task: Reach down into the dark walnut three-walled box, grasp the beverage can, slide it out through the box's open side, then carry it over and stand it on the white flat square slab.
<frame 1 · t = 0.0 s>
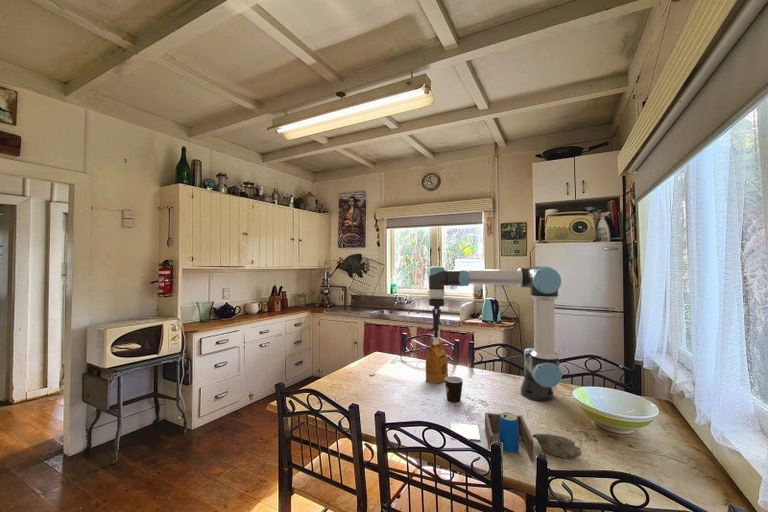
hand: (436, 340, 162), 28 cm above the table, fingers open, 13 cm apart
fossil: (555, 452, 116), on the table
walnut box: (507, 445, 121), on the table
coffee mug: (453, 399, 161), on the table
white flat square slab: (464, 432, 130), on the table
coffee package: (437, 380, 185), on the table
beverage can: (508, 450, 118), on the table
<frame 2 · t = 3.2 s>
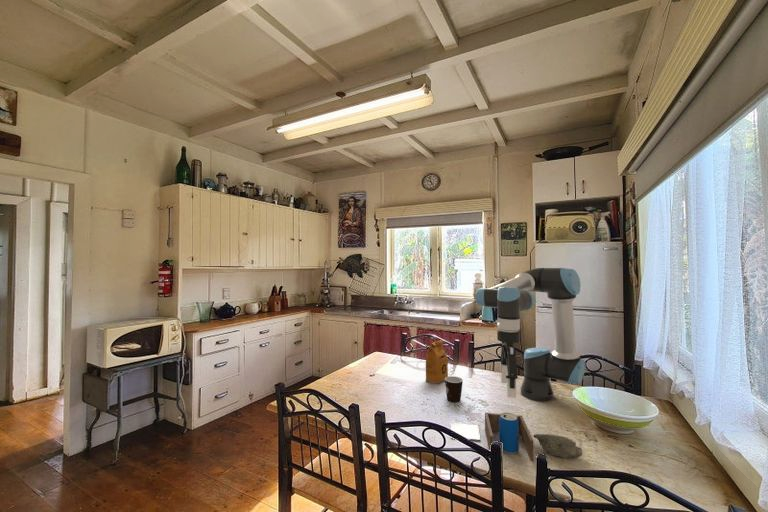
hand: (508, 389, 118), 22 cm above the table, fingers open, 13 cm apart
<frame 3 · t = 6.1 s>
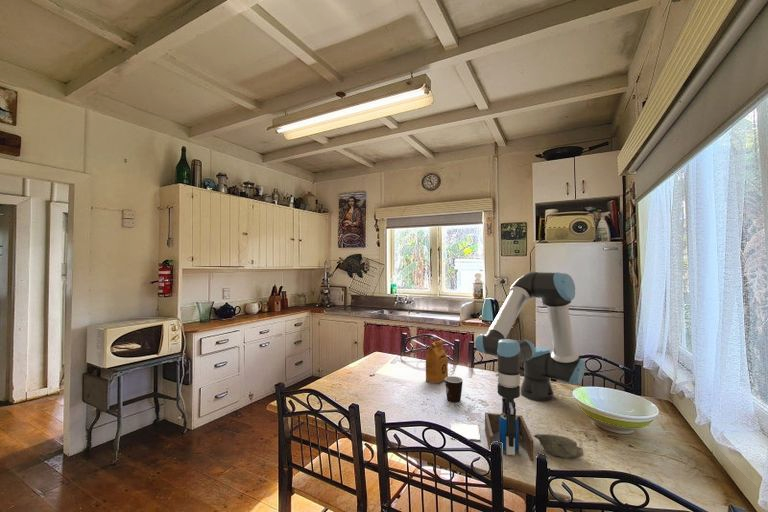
hand: (508, 448, 118), 0 cm above the table, fingers closed on beverage can, 6 cm apart
beverage can: (508, 450, 118), on the table, touching gripper
everything else where it was.
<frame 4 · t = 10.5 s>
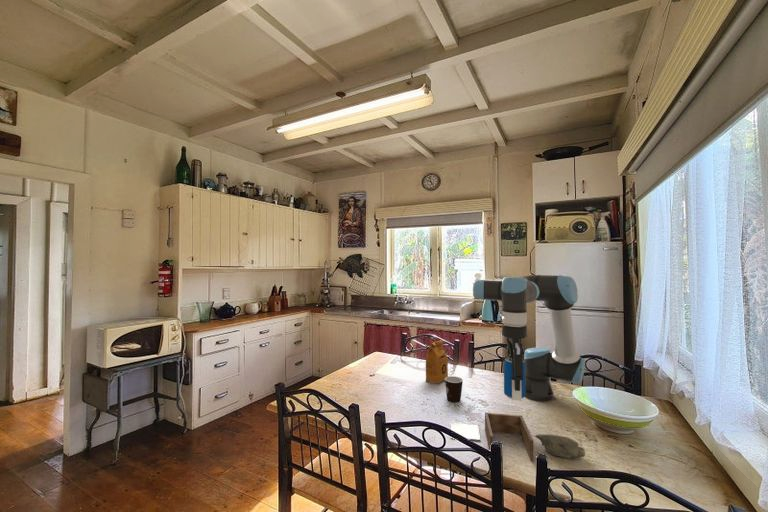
hand: (514, 394, 107), 24 cm above the table, fingers closed on beverage can, 6 cm apart
beverage can: (514, 397, 107), point 23 cm above the table, touching gripper
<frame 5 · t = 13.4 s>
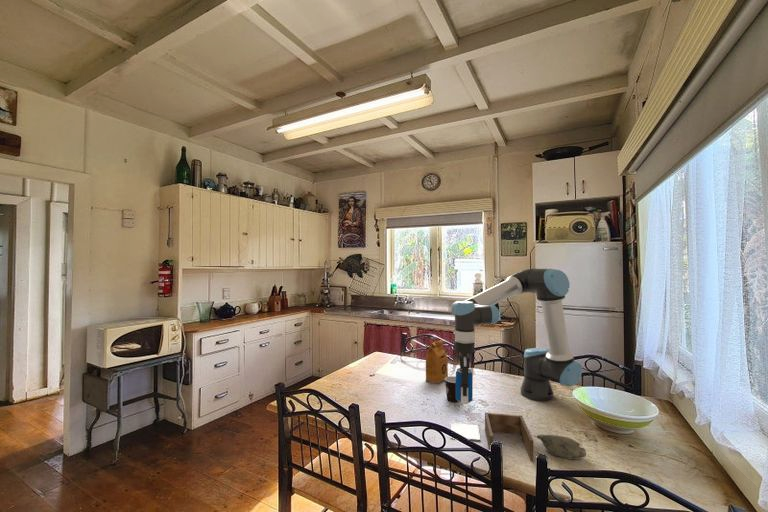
hand: (464, 399, 130), 13 cm above the table, fingers closed on beverage can, 6 cm apart
beverage can: (463, 401, 130), point 12 cm above the table, touching gripper
when the fingers open (2 cm above the table, at t = 15.3 s): beverage can drops 1 cm, resting on white flat square slab.
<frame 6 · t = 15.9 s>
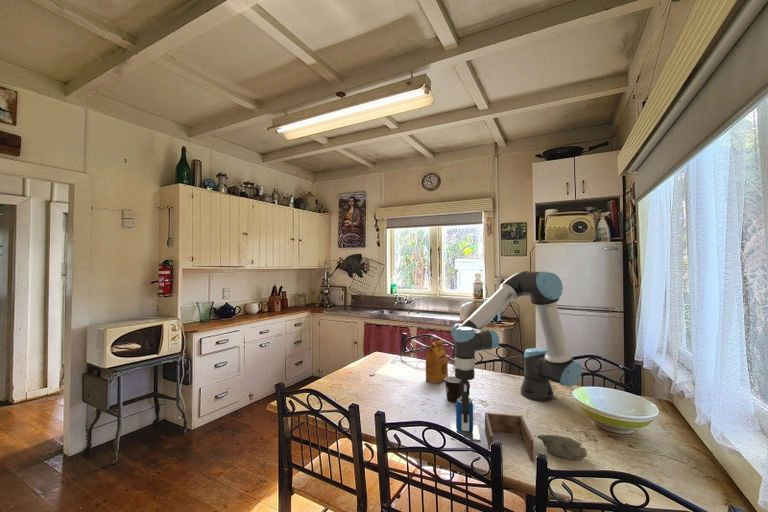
hand: (464, 421, 130), 4 cm above the table, fingers open, 13 cm apart
beverage can: (464, 431, 130), resting on white flat square slab
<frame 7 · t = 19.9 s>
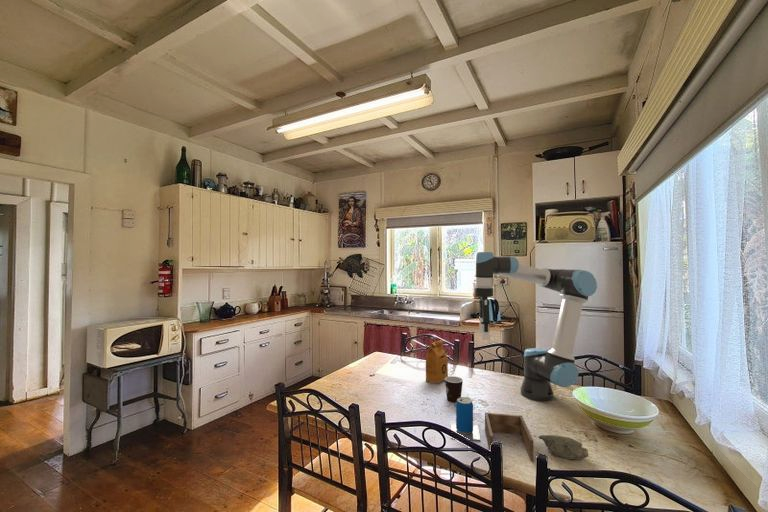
hand: (484, 335, 144), 35 cm above the table, fingers open, 13 cm apart
at the end: beverage can inside the target area on the white flat square slab (0.1 cm from its centre), point 0.4 cm above the white flat square slab's base; beverage can tilted 0°; the gripper is holding nothing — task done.
